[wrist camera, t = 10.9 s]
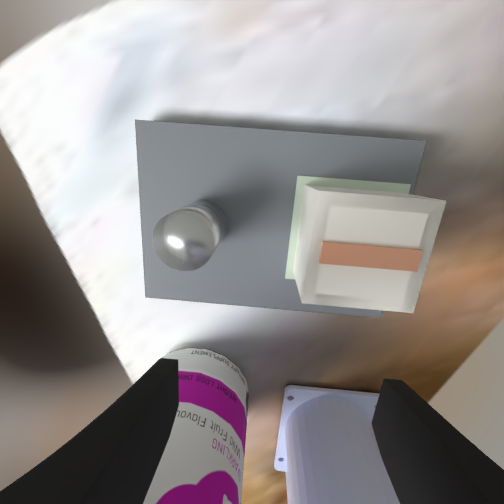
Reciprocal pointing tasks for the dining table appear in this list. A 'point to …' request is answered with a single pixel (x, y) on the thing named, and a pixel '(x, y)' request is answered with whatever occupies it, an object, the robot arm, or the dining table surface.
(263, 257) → the board
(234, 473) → the supplement can
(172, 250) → the post
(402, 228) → the white cube with stripe
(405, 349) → the dining table surface
